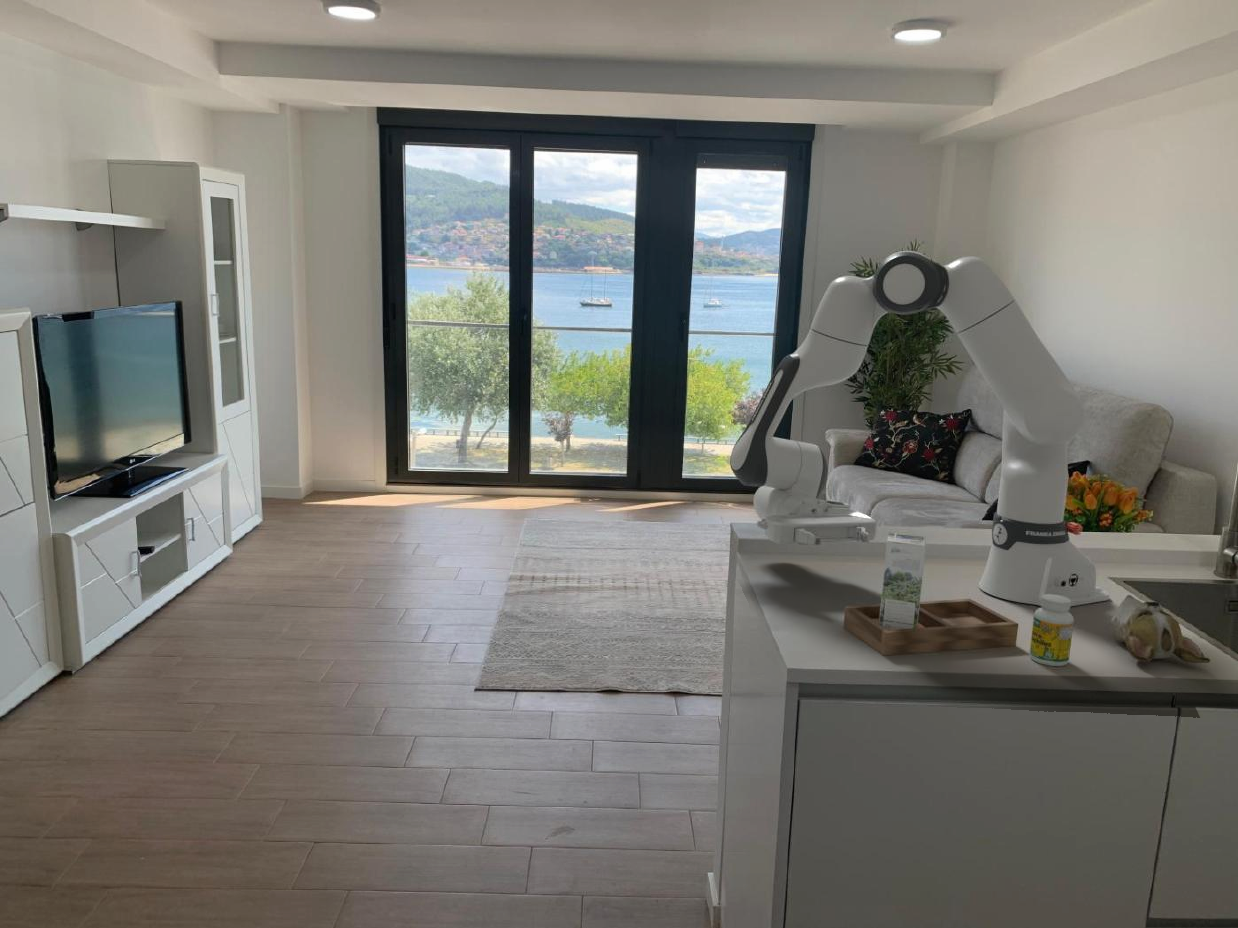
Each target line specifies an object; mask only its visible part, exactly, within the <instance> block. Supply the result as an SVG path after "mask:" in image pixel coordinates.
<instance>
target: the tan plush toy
mask: <svg viewBox="0 0 1238 928" xmlns="http://www.w3.org/2000/svg"><path fill="white" fill-rule="evenodd" d="M1110 629H1111V632H1112V634H1113V637H1114V638H1115V640H1117V641H1118V642H1120V643H1125V646H1126V648H1127V651H1128V652H1129V654H1130V656H1131V657H1132V659H1135V660H1136V661H1139V662H1141V663H1142V662H1144V663H1146V662H1147V663H1148V662H1150V661H1152V660H1162V659H1163V660H1166V659H1168V658H1170V657H1172V656H1173V655H1174V656H1176V657H1177V658H1179V659H1180V660H1182V661H1184V662H1186V663H1190V664H1191V663H1192V664H1209V663H1211V659H1210V658H1208V657H1205V655H1204V654H1203V652H1202V651H1201V648H1200V647H1199V645H1198V644H1197V643H1195V642H1194V641H1193V640H1192V639H1191V638H1189V637H1186V636H1183V633H1182V629H1181V625H1180V623H1179V622H1178V620H1176V619H1175V618H1174V617H1173V616H1172V615H1171V614H1169V613H1167V612H1165V611H1164V609H1163V607H1162V606H1161V605H1160V603H1158V602H1157V601H1144V602H1142V601H1140V600H1139V599H1137V598H1135V597H1134V596H1132V595H1131V594H1127V595H1126V596H1125V598H1124V599H1123V600H1122V601H1121V603H1120V604H1119V606H1118V607H1117V608H1116V610H1115V611H1114V614H1113V616H1112V617H1111V619H1110Z"/></svg>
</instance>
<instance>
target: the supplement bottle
mask: <svg viewBox="0 0 1238 928" xmlns="http://www.w3.org/2000/svg"><path fill="white" fill-rule="evenodd" d="M1040 604H1041V606H1040V607H1039V608H1037V609H1036V610H1035V611H1034V613H1033V621H1032V627H1031V628H1032V629H1031V638H1030V648H1029V657H1030V658H1031V659H1032V660H1033V661H1034V662H1036V663H1038V664H1042V665H1046V666H1050V667H1064V666H1067V664H1069V661H1070V653H1071V645H1072V639H1073V630H1074V623H1075V621H1074V620H1075V618H1074V616H1073V614H1072V613H1071V612H1069V611H1070V609H1071V606H1070V604H1071V600H1070V599H1068V598H1066V597H1064V596H1060V595H1053V594H1045V595H1042V596H1041V601H1040Z"/></svg>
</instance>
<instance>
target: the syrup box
mask: <svg viewBox="0 0 1238 928" xmlns="http://www.w3.org/2000/svg"><path fill="white" fill-rule="evenodd" d="M886 539H887V540H886V547H885V556H884V557H885V558H884V566H883V567H884V568H883V578H882V588H881V598H880V604H881V607H880V617H879V624H880V625H881V626H883V627H884V628H886V629H887V630H898V629H913V628H917V624H918V615H919V606H920V602H921V597H922V596H921V594H922V586H923V576H924V568H925V567H924V566H925V561H926V560H925V559H926V550H927V548H926V547H927V537H926V536H924V535H915V534H907V533H906V534H905V533H897V532H896V533H895V532H888V535H887V537H886Z"/></svg>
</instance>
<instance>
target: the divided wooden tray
mask: <svg viewBox="0 0 1238 928" xmlns="http://www.w3.org/2000/svg"><path fill="white" fill-rule="evenodd" d="M880 607H881V603H875V604H860V605H859V604H858V605H845V607H844V617H843V618H844V619H843V628H844V629H845V630H846V631H848V632H850V633H851V634H853V635H854V636H855V637H856V638H858V639H860V640H861V641H862V642H864V643H865V644H867V645H868V646H870V647H871V648H872V649H874V650H875V651H877V652H878V653H879V654H881V655H882V656H893V655H895V656H896V655H904V654H905V655H906V654H907V655H909V654H910V655H911V654H920V653H921V654H923V653H935V652H936V653H937V652H946V651H948V652H949V651H958V650H961V651H963V650H973V649H974V650H975V649H986V648H989V649H990V648H999V647H1002V648H1003V647H1011V646H1012V647H1013V646H1016V645H1017V640H1018V639H1017V638H1018V633H1019V632H1018V629H1019V623H1017V622H1016V621H1014V620H1012V619H1010V618H1008V617H1006V616H1004V615H1002V614H1000V613H998V612H996V611H994V610H992V609H990V608H988V607H986V606H984V605H983V604H981V603H979V602H977V601H975V600H973V599H971V598H961V599H945V600H944V599H943V600H929V601H920V606H919V615H918V624H917V628H913V629H898V630H887V629H886V628H884V627H883V626H881V625H880V624H879V617H880Z"/></svg>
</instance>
